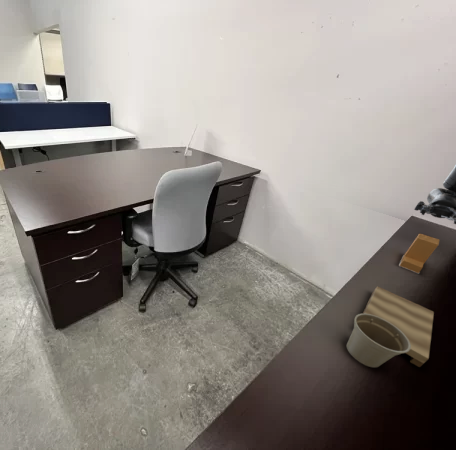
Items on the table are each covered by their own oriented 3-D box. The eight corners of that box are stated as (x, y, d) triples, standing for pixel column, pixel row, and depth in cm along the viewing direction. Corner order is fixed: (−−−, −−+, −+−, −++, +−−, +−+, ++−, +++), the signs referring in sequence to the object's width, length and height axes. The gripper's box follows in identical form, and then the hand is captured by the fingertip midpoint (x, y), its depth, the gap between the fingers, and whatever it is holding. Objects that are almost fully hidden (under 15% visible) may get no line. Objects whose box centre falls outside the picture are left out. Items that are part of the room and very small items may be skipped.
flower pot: (390, 357, 55) (412, 333, 51) (385, 386, 49) (409, 362, 45) (343, 330, 61) (359, 306, 57) (333, 353, 55) (350, 329, 51)
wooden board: (370, 295, 73) (377, 286, 71) (424, 322, 65) (434, 311, 63) (353, 332, 61) (361, 321, 59) (417, 369, 53) (428, 358, 51)
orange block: (402, 257, 92) (419, 232, 87) (421, 264, 89) (440, 239, 84) (397, 267, 86) (415, 241, 81) (417, 275, 83) (438, 249, 78)
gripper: (424, 192, 100) (420, 200, 90) (476, 204, 90) (477, 215, 81) (413, 208, 103) (408, 218, 94) (462, 221, 94) (461, 234, 85)
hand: (440, 216), depth 87 cm, fingers open, 8 cm apart
